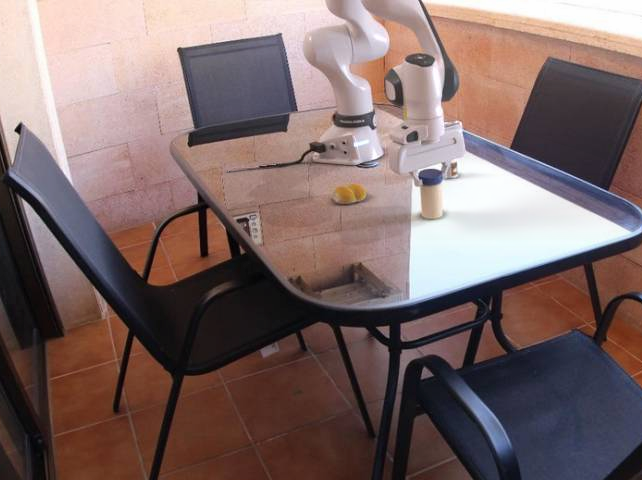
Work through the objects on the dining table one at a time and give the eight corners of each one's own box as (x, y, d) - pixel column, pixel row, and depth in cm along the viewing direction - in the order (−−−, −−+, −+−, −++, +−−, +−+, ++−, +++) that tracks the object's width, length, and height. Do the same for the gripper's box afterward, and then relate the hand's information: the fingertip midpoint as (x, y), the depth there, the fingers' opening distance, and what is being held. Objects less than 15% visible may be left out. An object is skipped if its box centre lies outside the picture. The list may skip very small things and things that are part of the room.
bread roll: (371, 199, 181) (369, 185, 179) (341, 207, 177) (339, 193, 175) (358, 190, 187) (356, 176, 185) (329, 198, 183) (327, 184, 181)
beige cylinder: (419, 218, 169) (417, 180, 163) (424, 209, 173) (421, 171, 167) (440, 219, 168) (438, 181, 162) (444, 210, 172) (442, 172, 166)
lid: (439, 186, 162) (439, 178, 161) (416, 184, 163) (415, 177, 162) (444, 176, 167) (444, 169, 166) (421, 175, 168) (420, 168, 167)
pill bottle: (456, 179, 191) (454, 153, 186) (441, 178, 191) (439, 152, 187) (459, 173, 194) (457, 147, 190) (444, 173, 195) (443, 147, 191)
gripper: (454, 115, 165) (457, 169, 172) (382, 133, 155) (389, 189, 163) (468, 120, 160) (471, 175, 168) (396, 139, 151) (402, 196, 158)
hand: (430, 182), depth 165 cm, fingers closed on lid, 6 cm apart
